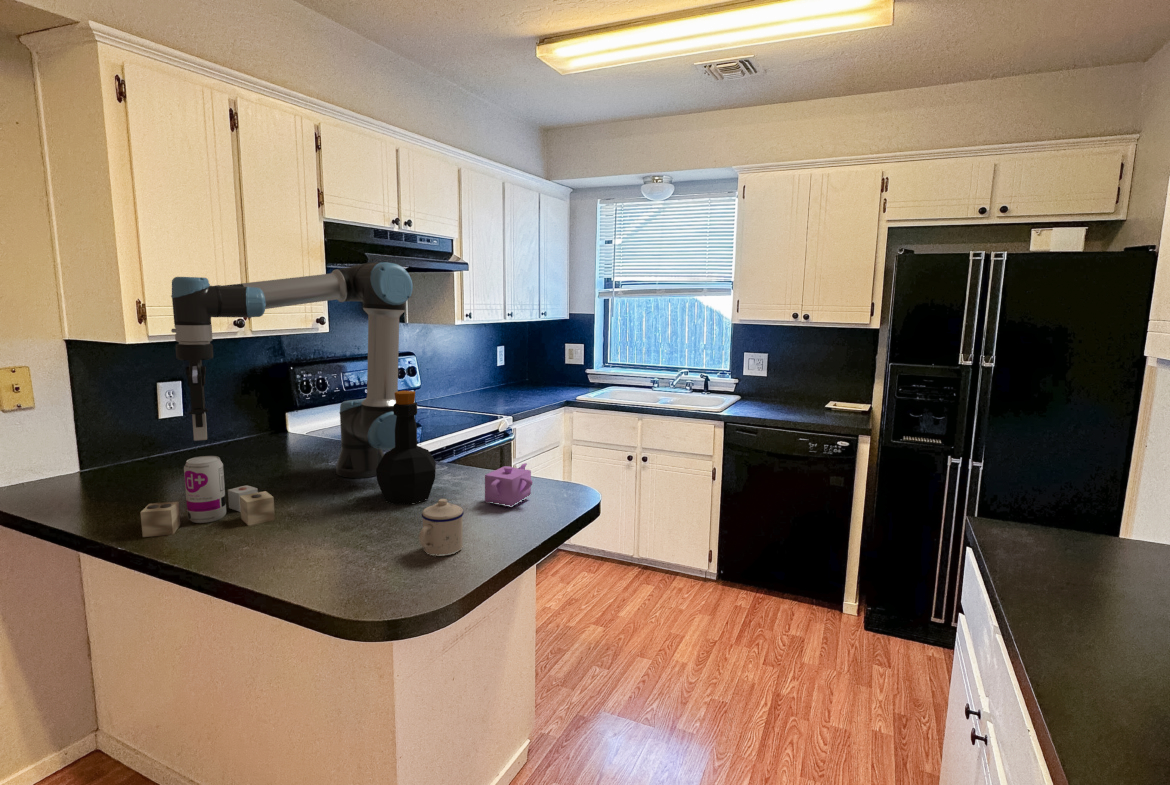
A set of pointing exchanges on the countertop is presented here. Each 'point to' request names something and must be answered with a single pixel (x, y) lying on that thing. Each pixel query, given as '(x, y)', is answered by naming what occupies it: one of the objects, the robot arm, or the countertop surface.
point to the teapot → (508, 485)
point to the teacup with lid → (442, 528)
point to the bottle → (406, 458)
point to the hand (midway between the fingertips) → (200, 439)
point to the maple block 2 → (257, 508)
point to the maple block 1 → (160, 519)
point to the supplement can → (205, 489)
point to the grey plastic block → (237, 492)
